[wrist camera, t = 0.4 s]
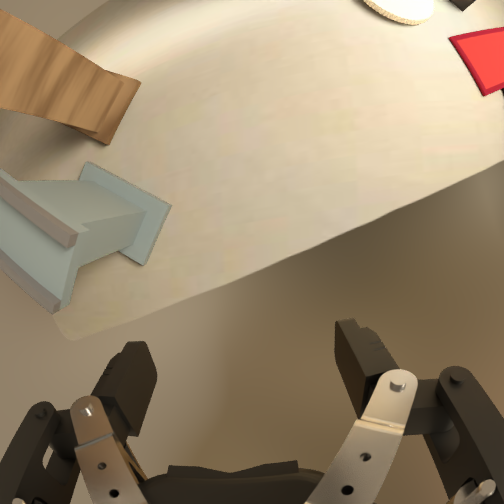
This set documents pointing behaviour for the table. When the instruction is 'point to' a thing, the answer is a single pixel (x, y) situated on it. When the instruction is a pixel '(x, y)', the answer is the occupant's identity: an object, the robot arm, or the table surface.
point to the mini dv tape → (462, 3)
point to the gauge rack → (72, 229)
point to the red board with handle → (483, 57)
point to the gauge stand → (59, 82)
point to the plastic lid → (404, 10)
